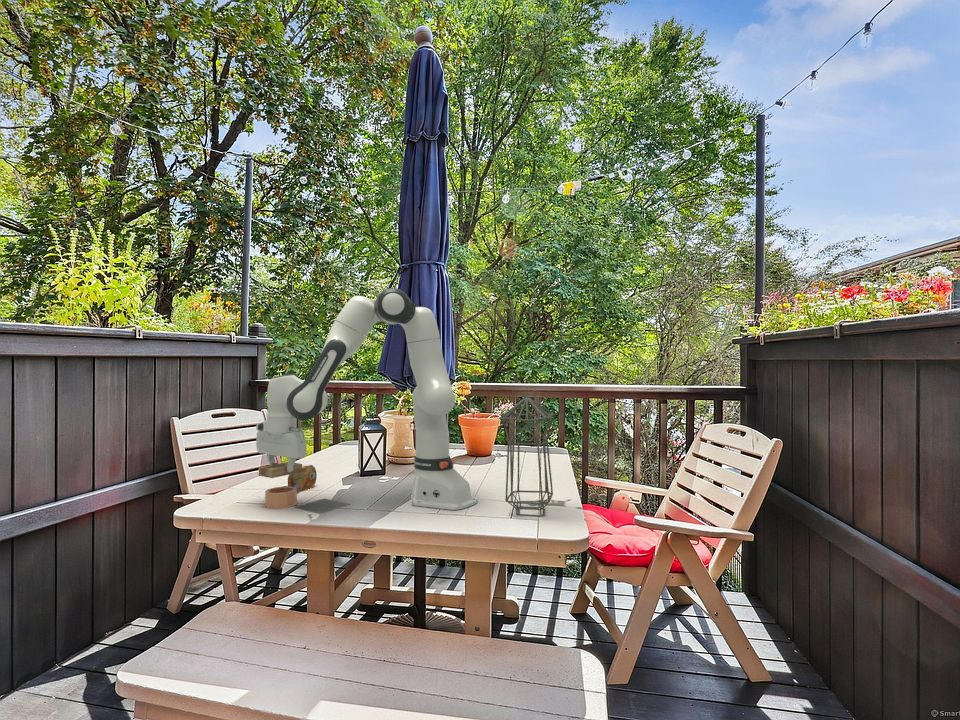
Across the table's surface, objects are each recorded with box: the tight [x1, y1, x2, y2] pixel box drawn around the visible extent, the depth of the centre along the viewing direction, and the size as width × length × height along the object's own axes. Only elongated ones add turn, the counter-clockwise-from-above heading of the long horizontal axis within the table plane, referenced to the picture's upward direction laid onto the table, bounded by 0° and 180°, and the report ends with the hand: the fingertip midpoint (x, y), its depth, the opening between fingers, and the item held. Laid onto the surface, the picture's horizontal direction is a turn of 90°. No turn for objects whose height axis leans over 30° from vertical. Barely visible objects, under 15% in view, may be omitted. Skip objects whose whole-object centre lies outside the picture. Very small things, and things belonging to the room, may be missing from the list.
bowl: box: [264, 486, 298, 510], centre depth 156 cm, size 9×9×5 cm
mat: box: [293, 498, 351, 515], centre depth 155 cm, size 12×12×1 cm
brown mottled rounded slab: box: [287, 464, 318, 495], centre depth 175 cm, size 15×3×8 cm, turn 168°
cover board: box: [258, 461, 303, 479], centre depth 156 cm, size 6×11×2 cm, turn 148°
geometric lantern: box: [499, 397, 555, 517], centre depth 151 cm, size 16×16×35 cm
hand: (280, 470), depth 156 cm, fingers closed on cover board, 6 cm apart
